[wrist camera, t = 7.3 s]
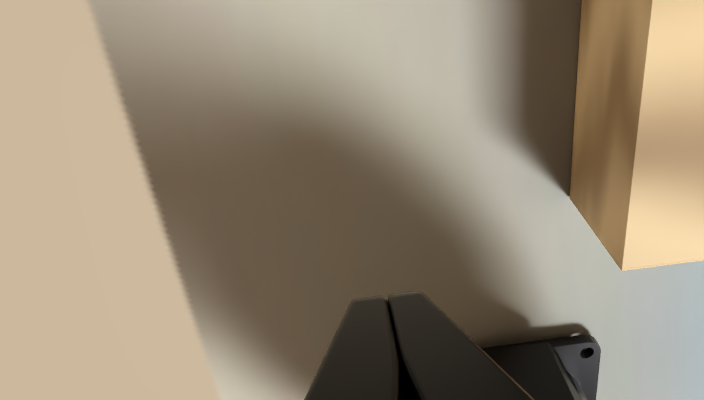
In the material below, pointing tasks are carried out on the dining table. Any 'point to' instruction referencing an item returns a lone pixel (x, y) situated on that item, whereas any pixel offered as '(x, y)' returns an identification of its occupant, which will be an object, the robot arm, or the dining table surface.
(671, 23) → the deck
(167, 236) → the dining table surface
